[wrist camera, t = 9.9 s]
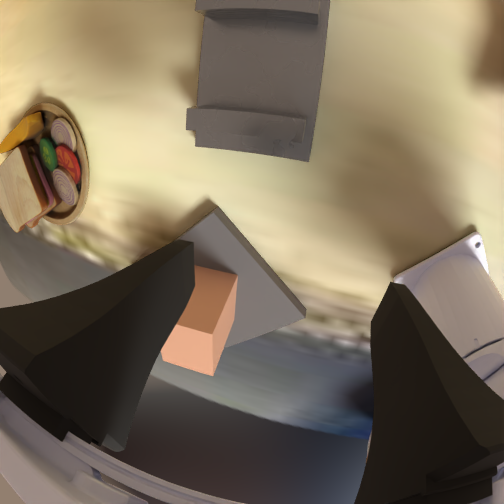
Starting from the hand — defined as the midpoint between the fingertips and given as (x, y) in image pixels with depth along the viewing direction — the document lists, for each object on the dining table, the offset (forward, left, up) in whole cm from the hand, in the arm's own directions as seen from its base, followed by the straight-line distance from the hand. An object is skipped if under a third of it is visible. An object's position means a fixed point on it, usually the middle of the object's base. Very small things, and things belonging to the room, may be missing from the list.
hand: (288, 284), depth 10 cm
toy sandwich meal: (+16, +17, -10) cm, 26 cm away
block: (-3, +11, -8) cm, 14 cm away
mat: (-3, +11, -9) cm, 15 cm away
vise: (+8, -3, -9) cm, 13 cm away
